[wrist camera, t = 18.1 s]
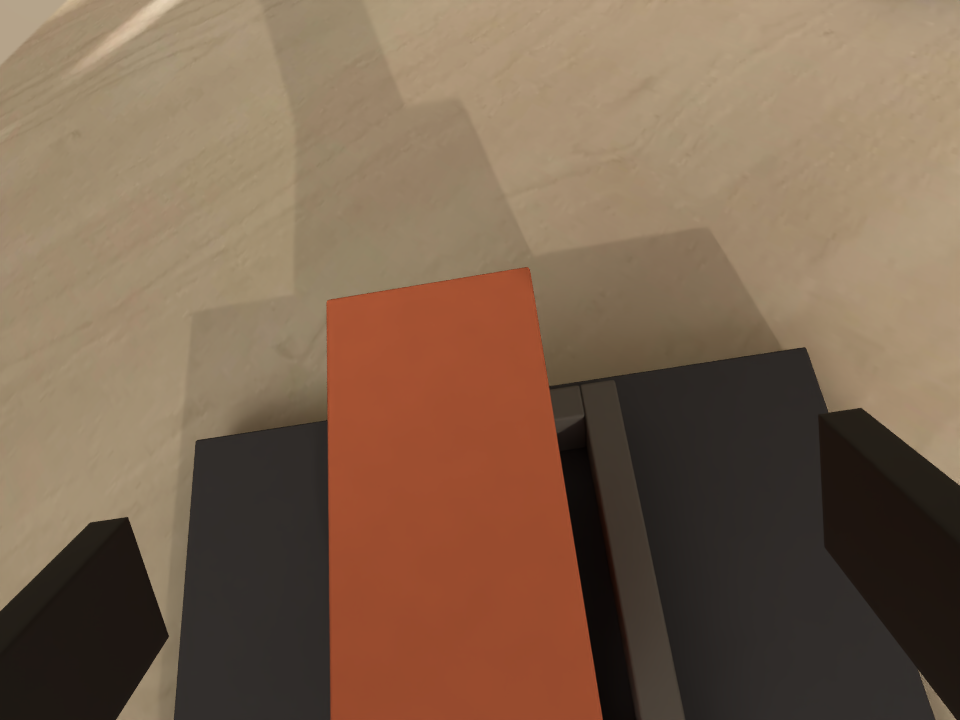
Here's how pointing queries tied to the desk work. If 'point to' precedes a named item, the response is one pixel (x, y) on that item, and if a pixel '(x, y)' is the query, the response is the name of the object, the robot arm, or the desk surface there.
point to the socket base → (581, 559)
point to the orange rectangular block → (449, 511)
